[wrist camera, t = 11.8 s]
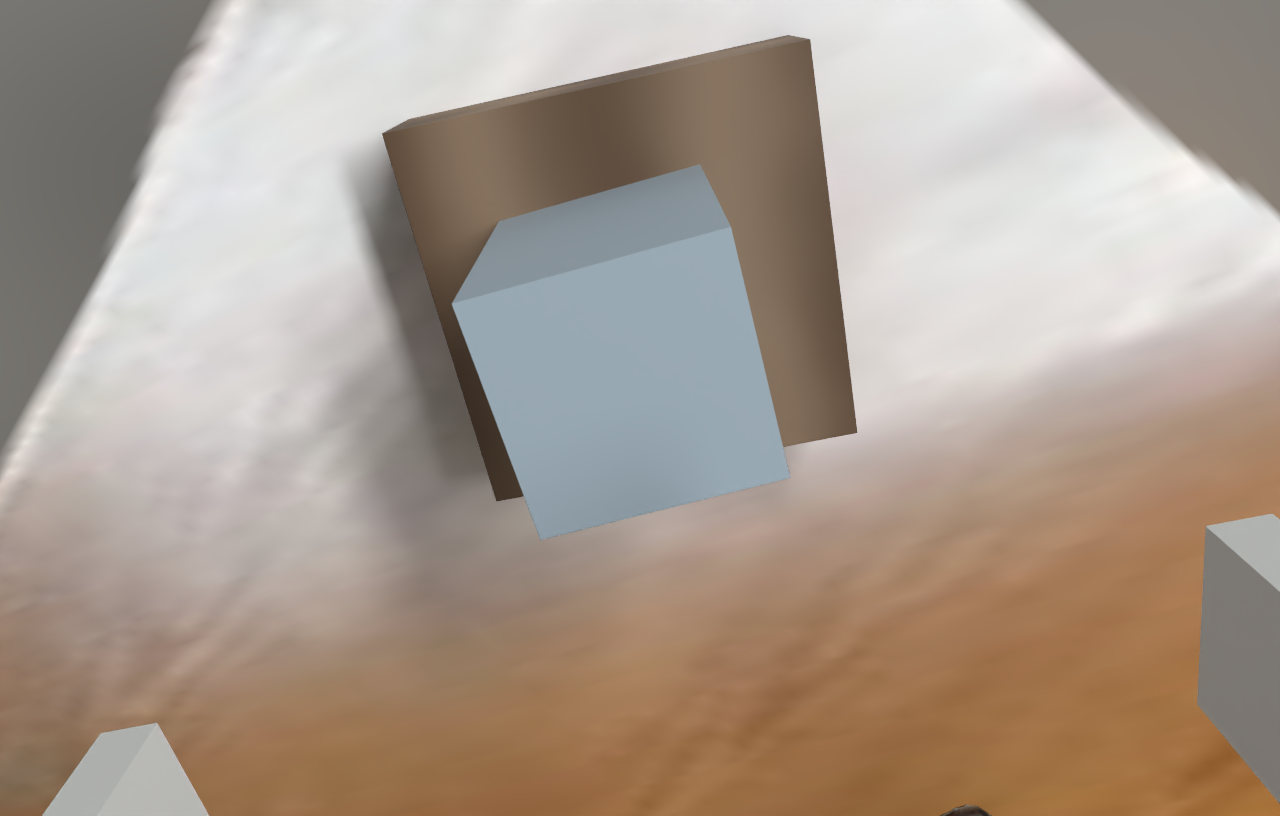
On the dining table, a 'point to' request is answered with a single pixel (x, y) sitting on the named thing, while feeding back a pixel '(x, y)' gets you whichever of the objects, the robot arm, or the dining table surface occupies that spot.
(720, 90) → the walnut block
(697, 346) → the slate block
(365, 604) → the dining table surface
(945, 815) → the flask
